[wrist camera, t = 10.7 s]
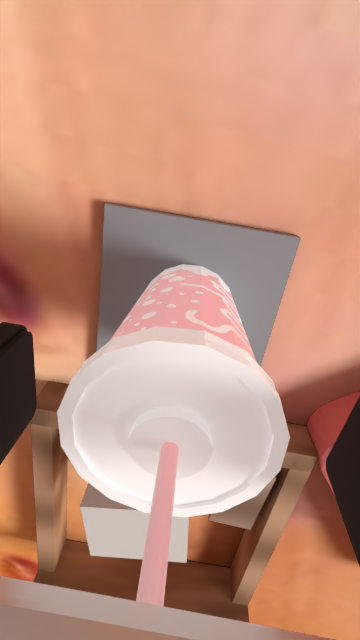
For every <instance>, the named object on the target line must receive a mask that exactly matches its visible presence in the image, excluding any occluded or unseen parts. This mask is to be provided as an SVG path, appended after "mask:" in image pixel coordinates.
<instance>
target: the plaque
mask: <svg viewBox="0 0 360 640" xmlns="http://www.w3.org/2000/svg"><path fill="white" fill-rule="evenodd" d="M359 396H360V391H358V392H355V393H353V394H350V395H347V396H344V397H341V398H338V399H336V400H333V401H330V402H328V403H326V404H324V405H322V406H320V407H319V408H318V409H317V410H316V411H315V412H314V413H313V414H312V415H311V416H310V418H309V421H308V423H307V430H308V432H309V435H310V437H311V440H312V443H313V445H314V448H315V451H316V453H317V456H318V459H317V461H318V464H319V466H320V469H321V471H322V473H323V475H324V477H325V479H326V481H327V483H328V484H329V486H330V488H331V490H332V492H333V494H334V491H333V489H332V486H331V483H330V480H329V477H328V474H327V471H326V459H327V457H328V455H329V453H330V451H331V449H332V447H333V445H334V443H335V442H336V440H337V438H338V436H339V434H340V432H341V430H342V428H343V426H344V424H345V423H346V421H347V419H348V417H349V415H350V413H351V411H352V409H353V407H354V405H355V403H356V402H357V400H358V398H359ZM334 496H335V494H334ZM335 498H336V497H335Z"/></svg>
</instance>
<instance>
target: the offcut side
mask: <svg viewBox="0 0 360 640" xmlns="http://www.w3.org/2000/svg"><path fill="white" fill-rule="evenodd" d="M275 480H276V476H275V477H274V478H273V479H272V480H271V481H270V482H269V483H268V484H267V485H266V486H265V487H264V488H263V490H262V491H261V492H260V493H259V494H258V495H257V496H255V497H253V498H251V499H249V500H247V501H245V502H243V503H241V504H239V505H236V506H234V507H232V508H230V509H228V510H226V511H224V512H219V513H212V514H209V521H213V522H218V523H222V524H227V525H231V526H236V527H240V528H245V529H249V530H251V528H252V526H253V524H254V522H255V520H256V518H257V516H258V514H259V512H260V510H261V508H262V506H263V504H264V502H265V500H266V498H267V496H268V494H269V492H270V490H271V488H272V486H273V484H274V482H275Z"/></svg>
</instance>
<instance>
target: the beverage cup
mask: <svg viewBox="0 0 360 640" xmlns="http://www.w3.org/2000/svg"><path fill="white" fill-rule="evenodd" d="M57 416H58V425H59V434H60V443H61V447H62V449H63V450H64V452H65V453H66V455H67V457H68V458H69V460H70V461H71V463H72V465H73V466H74V468H75V469H76V471H77V472H78V474H79V476H81V477H82V478H83V479H84V480H86V481H87V482H88V483H90V484H91V485H92V486H93V487H95V488H96V489H97V490H99V491H100V492H101V493H102V494H104V495H105V496H106V497H108V498H109V499H111V500H114V501H116V502H119V503H121V504H124V505H126V506H129V507H132V508H134V509H137V510H139V511H142V512H144V513H150V518H149V524H148V530H147V536H146V542H145V548H144V555H143V561H142V567H141V573H140V579H139V586H138V592H137V598H136V601H137V602H143V603H148V604H153V605H158V606H164V596H165V586H166V575H167V565H168V555H169V545H170V534H171V524H172V516H176V517H191V516H198V515H205V514H212V513H219V512H224V511H226V510H228V509H230V508H232V507H234V506H236V505H239V504H241V503H243V502H245V501H247V500H249V499H251V498H253V497H255V496H257V495H258V494H259V493H260V492H261V491H262V490H263V488H264V487H265V486H266V485H267V484H268V483H269V482H270V481H271V480H272V479H273V478H274V477H275V476H276V475H277V474H278V473H279V472H280V470H281V467H282V463H283V460H284V457H285V453H286V450H287V446H288V443H289V439H290V435H289V431H288V427H287V423H286V420H285V416H284V412H283V408H282V404H281V400H280V397H279V394H278V392H277V391H276V389H275V385H274V382H273V380H272V379H271V378H270V377H269V376H268V375H267V374H266V372H265V371H264V370H263V369H262V368H261V367H260V366H259V364H258V363H257V362H256V360H255V357H254V354H253V352H252V349H251V346H250V343H249V341H248V338H247V335H246V333H245V330H244V327H243V324H242V322H241V319H240V316H239V314H238V311H237V308H236V306H235V303H234V300H233V297H232V295H231V292H230V289H229V287H228V286H227V285H226V284H225V283H224V281H223V280H222V279H221V278H220V277H219V275H218V274H216V273H214V272H212V271H210V270H208V269H206V268H204V267H202V266H197V265H186V264H182V265H178V266H175V267H172V268H168V269H165V270H164V271H163V272H162V273H160V274H159V275H158V276H157V277H156V278H154V279H153V280H152V281H151V282H150V284H149V285H148V287H147V288H146V289H145V291H144V292H143V294H142V295H141V297H140V298H139V299H138V301H137V302H136V304H135V305H134V307H133V308H132V309H131V311H130V312H129V314H128V315H127V317H126V318H125V319H124V321H123V322H122V324H121V325H120V327H119V328H118V329H117V331H116V332H115V334H114V335H113V337H112V338H111V339H110V341H109V342H108V343H107V344H105V345H104V346H103V347H102V348H100V349H99V350H98V351H97V352H95V353H94V354H93V355H92V356H90V357H89V358H88V359H87V360H85V361H84V362H83V364H82V366H81V369H79V370H78V371H77V372H76V373H75V374H74V376H73V377H72V379H71V381H70V383H69V386H68V388H67V390H66V393H65V395H64V397H63V400H62V402H61V404H60V407H59V409H58V411H57Z"/></svg>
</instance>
